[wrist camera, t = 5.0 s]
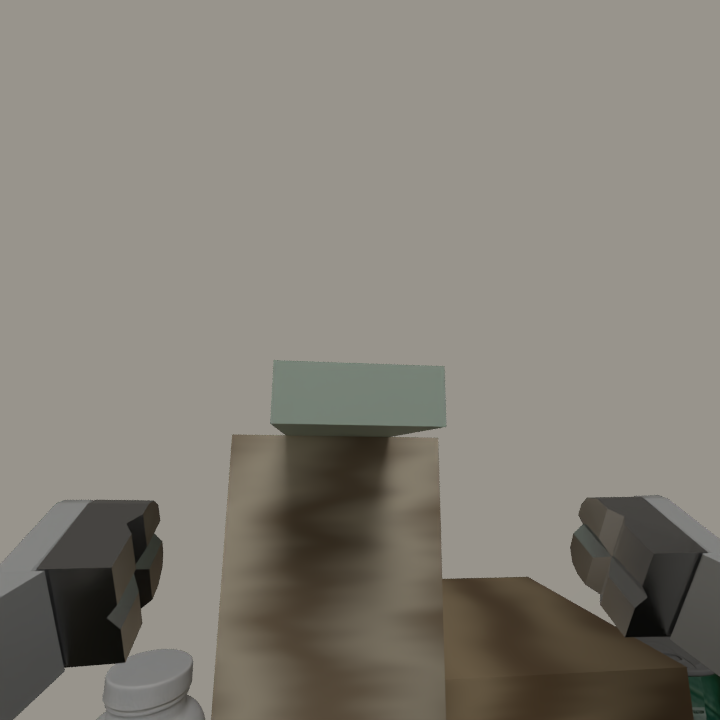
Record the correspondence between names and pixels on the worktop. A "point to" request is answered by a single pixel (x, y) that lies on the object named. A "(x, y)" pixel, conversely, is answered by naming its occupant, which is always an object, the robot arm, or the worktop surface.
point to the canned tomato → (693, 678)
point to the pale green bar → (356, 399)
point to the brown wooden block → (548, 659)
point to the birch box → (331, 581)
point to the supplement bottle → (151, 688)
